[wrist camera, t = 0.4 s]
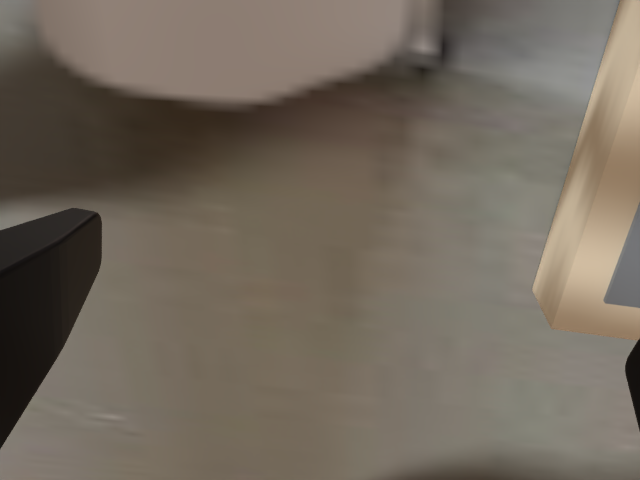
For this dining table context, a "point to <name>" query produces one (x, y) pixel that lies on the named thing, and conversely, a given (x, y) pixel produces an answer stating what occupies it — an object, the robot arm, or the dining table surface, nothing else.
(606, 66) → the birch plinth
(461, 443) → the dining table surface
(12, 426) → the robot arm
